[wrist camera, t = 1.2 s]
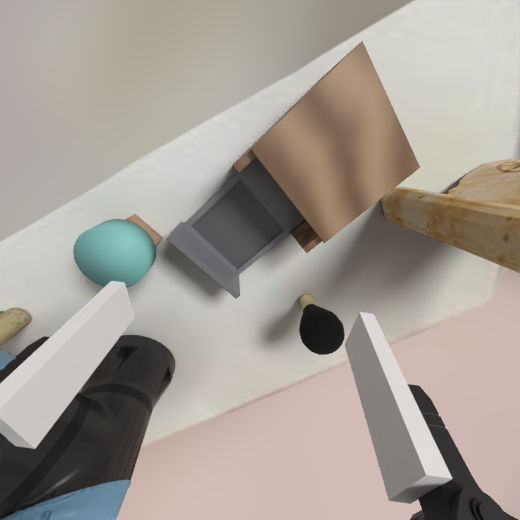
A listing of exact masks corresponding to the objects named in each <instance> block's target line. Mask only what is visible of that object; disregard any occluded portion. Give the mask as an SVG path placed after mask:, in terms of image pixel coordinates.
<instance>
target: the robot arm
mask: <svg viewBox="0 0 520 520" xmlns="http://www.w3.org/2000/svg"><path fill="white" fill-rule="evenodd" d="M134 318H135V316H134V312H133V309H132V305H131V302H130V299H129V295H128V292H127V288H126V285H125V282H118V281H111V282H109V283H108V284H107V285H106V286H105V287H104V288H103V289H102V290H101V291H100V292H99V293H98V294H96V295H95V296H94V297H93V298H92V299H91V300H90V301H89V302H88V303H87V304H86V305H85V306H83V307H82V308H81V309H80V310H79V311H78V312H77V313H76V314H75V315H74V316H73V317H72V318H71V319H69V320H68V321H67V322H66V323H65V324H64V325H63V326H62V327H61V328H60V329H59V330H58V331H56V332H55V333H54V334H53V335H52V336H51V337H42V338H41V339H39V340H37V341H36V342H34V343H32V344H30V345H29V346H28V347H26V348H25V349H24V350H23V351H22V352H21V353H20V354H18V355H17V356H14V355H12V354H10V353H8V352H6V351H4V350H2V349H0V520H116V518H117V516H118V513H119V510H120V508H121V505H122V503H123V500H124V497H125V495H126V492H127V489H128V488H129V486H130V484H131V477H132V474H133V471H134V467H135V464H136V461H137V458H138V454H139V451H140V448H141V445H142V442H143V439H144V435H145V432H146V429H147V426H148V423H149V419H150V416H151V413H152V410H153V408H154V406H155V405H156V403H157V402H158V400H159V399H160V397H161V396H162V394H163V393H164V391H165V390H166V389H167V387H168V386H169V384H170V382H171V380H172V377H173V373H174V370H175V360H174V357H173V355H172V354H171V352H170V351H169V350H168V349H167V348H166V347H165V346H164V345H162V344H161V343H159V342H157V341H155V340H153V339H150V338H147V337H143V336H136V335H125V336H121V335H122V334H123V332H124V331H125V330H126V328H127V327H128V326H129V324H130V323H131V322H132V320H133V319H134ZM345 347H346V350H347V354H348V357H349V361H350V364H351V368H352V372H353V375H354V378H355V382H356V386H357V389H358V393H359V396H360V400H361V403H362V407H363V410H364V414H365V418H366V421H367V424H368V428H369V432H370V435H371V439H372V442H373V446H374V449H375V453H376V456H377V460H378V463H379V467H380V471H381V474H382V478H383V481H384V485H385V488H386V492H387V495H388V499H389V501H396V502H403V503H410V504H411V503H412V502H414V501H416V500H417V499H419V502H420V505H421V507H422V510H421V511H419V512H417V513H416V514H414V515H413V516H412V517H411V519H410V520H518V519H516V518H514V517H512V516H510V515H509V514H507V513H505V512H504V511H503V510H502V509H501V507H500V506H499V505H498V504H497V503H496V502H495V501H494V500H493V499H492V498H491V497H490V496H488V495H487V494H485V493H484V492H482V490H481V489H480V488H479V487H478V485H477V483H476V482H475V480H474V478H473V477H472V475H471V473H470V471H469V469H468V467H467V466H466V464H465V462H464V460H463V459H462V456H461V454H460V453H459V451H458V449H457V447H456V445H455V443H454V441H453V440H452V438H451V436H450V434H449V432H448V430H447V429H446V428H445V425H444V423H443V421H442V419H441V417H439V416H438V412H437V410H436V408H435V406H434V404H433V403H432V401H431V399H430V398H429V397H428V395H427V394H426V393H425V392H424V391H423V390H422V389H421V387H419V386H416V385H409V384H407V382H406V380H405V378H404V376H403V374H402V372H401V370H400V368H399V366H398V364H397V362H396V360H395V357H394V355H393V353H392V351H391V349H390V347H389V345H388V343H387V341H386V339H385V336H384V334H383V332H382V330H381V328H380V326H379V324H378V322H377V320H376V318H375V316H374V314H372V313H364V312H359V314H358V316H357V318H356V321H355V323H354V325H353V327H352V330H351V332H350V334H349V336H348V338H347V341H346V343H345ZM81 388H82V390H81V393H79V390H80V389H81Z"/></svg>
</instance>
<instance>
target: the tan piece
mask: <svg viewBox="0 0 520 520" xmlns="http://www.w3.org/2000/svg"><path fill="white" fill-rule="evenodd" d="M448 191H449V193H448V194H441V193H435V192H429V191H423V190H416V189H410V188H404V187H395V188H393V189H392V190H391V191H390V192H388V193H387V194H386V195H385V196H383V197H382V198H381V204H382V208H383V212H384V215H385V217H386V218H387V219H388V220H391V221H393V222H395V223H397V224H399V225H401V226H404V227H406V228H408V229H411V230H413V231H416V232H418V233H421V234H424V235H426V236H429V237H432V238H434V239H437V240H440V241H442V242H445V243H448V244H450V245H453V246H455V247H458V248H460V249H462V250H465V251H467V252H469V253H472V254H474V255H477V256H479V257H482V258H484V259H487V260H489V261H491V262H494V263H496V264H499V265H501V266H504V267H506V268H509V269H511V270H514V271H516V272H519V273H520V159H509V160H501V161H495V162H491V163H486V164H482V165H481V166H479V167H477V168H476V169H474V170H473V171H471V172H469V173H468V174H467V175H465V176H464V177H463V178H462V179H461V180H460V181H459V185H458V186H457V187H455V188H452V189H450V190H448Z"/></svg>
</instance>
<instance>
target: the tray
mask: <svg viewBox="0 0 520 520" xmlns="http://www.w3.org/2000/svg"><path fill="white" fill-rule="evenodd" d="M304 220H305V218H304V217H303V216H302V215H301V213H300V212H299V211H298V209H297V208H296V207H295V206H294V204H293V203H292V202H291V201H290V199H289V198H288V197H287V195H286V194H285V193H284V192H283V190H282V189H281V188H280V186H279V185H278V184H277V183H276V181H275V180H274V179H273V178H272V176H271V175H270V174H269V172H268V171H267V170H266V169H265V167H264V166H263V165H262V163H261V162H260V161H259V160H258V158H257V157H255V158H254V159H253V160H252V161H251V162H250V163H249V164H248V165H247V166H246V167H245V168H244V169H242V170H241V171H240V172H238V173H237V174H236V175H235V176H234V177H233V178H232V179H231V180H230V181H228V182H227V183H226V184H225V185H224V186H223V187H222V188H221V189H220V190H219V191H218V192H217V193H216V194H215V195H214V196H213V197H212V198H211V199H210V200H209V201H208V202H207V203H206V204H204V205H203V206H202V207H201V208H200V209H199V210H198V211H197V212H196V213H195V214H194V215H193V216H192V217H191V218H190V219H189V220H188V221H187V222H186V223H185V224H184V223H183V222H181V223H180V224H179V225H178V226H177V227H176V228H175V229H174V231H173V232H172V233H171V234H170V235H169V237H168V238H167V240H168V241H169V242H171V243H172V244H173V245H174V246H175V247H176V248H178V249H179V250H180V251H181V252H182V253H183V254H185V255H186V256H187V257H188V258H189V259H190V260H191V261H193V262H194V263H195V264H196V265H197V266H198V267H200V268H201V269H202V270H203V271H204V272H205V273H207V274H208V275H209V276H210V277H211V278H212V279H214V280H215V281H216V282H217V283H218V284H219V285H221V286H222V287H223V288H224V289H225V290H226V291H228V292H229V293H230V294H231V295H232V296H233V297H234V298H237V297H239V296H240V287H239V274H240V273H242V272H243V271H244V270H245V269H246V268H247V267H249V266H250V265H251V264H252V263H253V262H255V261H256V260H257V259H258V258H259V257H261V256H262V255H263V254H264V253H265V252H267V251H268V250H269V249H270V248H271V247H273V246H274V245H275V244H276V243H277V242H279V241H280V240H281V239H282V238H283V237H285V236H286V235H287V234H288V233H289V232H291V231H292V230H293V229H294V228H295V227H297V226H298V225H299V224H300V223H301V222H303V221H304Z"/></svg>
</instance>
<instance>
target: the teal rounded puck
mask: <svg viewBox="0 0 520 520" xmlns="http://www.w3.org/2000/svg"><path fill="white" fill-rule="evenodd" d="M74 258H75V261H76V264H77V265H78V267H79V269H80V270H81V271H82V272H83V274H84V275H86V276H87V277H88V278H89V279H91V280H92V281H94V282H95V283H97V284H100V285H102V286H106V285H107V284H108V283H109V282H111V281H118V282H125V285H126V287H130V286H132V285H134V284H136V283H138V282H139V281H140V280H141V279H142V278H143V277H144V275H145V274H146V273H147V271H148V270H149V269H150V267H151V266H152V265H153V263H154V261H155V258H156V247H155V244H154V241H153V239H152V238H151V236H150V235H149V234H148V233H147V232H146V231H145V230H144V229H143V228H142V227H140V226H139V225H137V224H135V223H133V222H130V221H127V220H121V219H114V220H108V221H105V222H103V223H101V224H99V225H97V226H95V227H93V228H91V229H89V230H87V231H85V232H84V233H82V234H81V235H80V236H79V237H78V239H77V240H76V242H75V245H74Z"/></svg>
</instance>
